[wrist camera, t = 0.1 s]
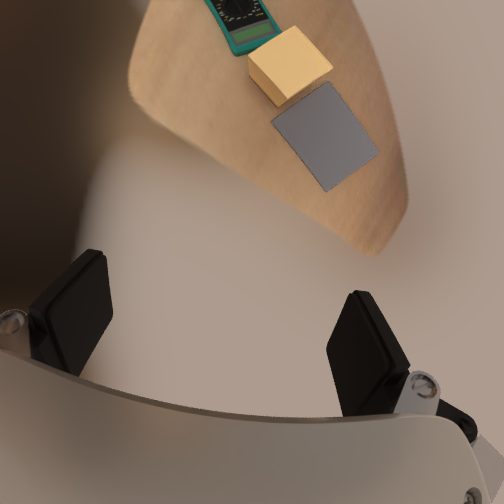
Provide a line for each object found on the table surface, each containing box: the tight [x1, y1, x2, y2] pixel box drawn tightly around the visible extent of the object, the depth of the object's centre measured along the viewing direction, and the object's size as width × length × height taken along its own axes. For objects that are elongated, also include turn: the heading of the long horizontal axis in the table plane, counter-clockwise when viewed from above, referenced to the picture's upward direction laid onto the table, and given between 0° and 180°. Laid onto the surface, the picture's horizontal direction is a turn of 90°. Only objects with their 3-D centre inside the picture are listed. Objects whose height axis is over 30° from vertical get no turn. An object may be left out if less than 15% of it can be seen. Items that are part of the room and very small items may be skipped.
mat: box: [271, 81, 379, 192], centre depth 35 cm, size 10×13×1 cm
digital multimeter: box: [204, 0, 282, 56], centre depth 26 cm, size 7×15×3 cm, turn 24°
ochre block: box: [248, 25, 333, 108], centre depth 27 cm, size 6×6×12 cm
